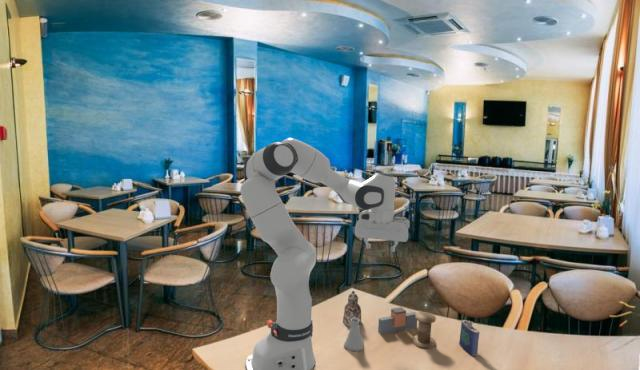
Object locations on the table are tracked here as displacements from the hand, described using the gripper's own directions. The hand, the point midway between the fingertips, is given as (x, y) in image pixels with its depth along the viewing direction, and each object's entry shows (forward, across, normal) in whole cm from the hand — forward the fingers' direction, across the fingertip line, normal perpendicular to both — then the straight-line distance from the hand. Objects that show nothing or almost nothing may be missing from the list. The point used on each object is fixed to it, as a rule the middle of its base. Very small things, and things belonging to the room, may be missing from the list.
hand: (380, 250), depth 160 cm
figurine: (+29, +9, +5) cm, 31 cm away
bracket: (+29, -9, +5) cm, 31 cm away
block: (+27, -9, +5) cm, 29 cm away
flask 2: (+29, -34, +10) cm, 46 cm away
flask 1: (+29, +5, +22) cm, 37 cm away
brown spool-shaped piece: (+29, -19, +11) cm, 36 cm away
